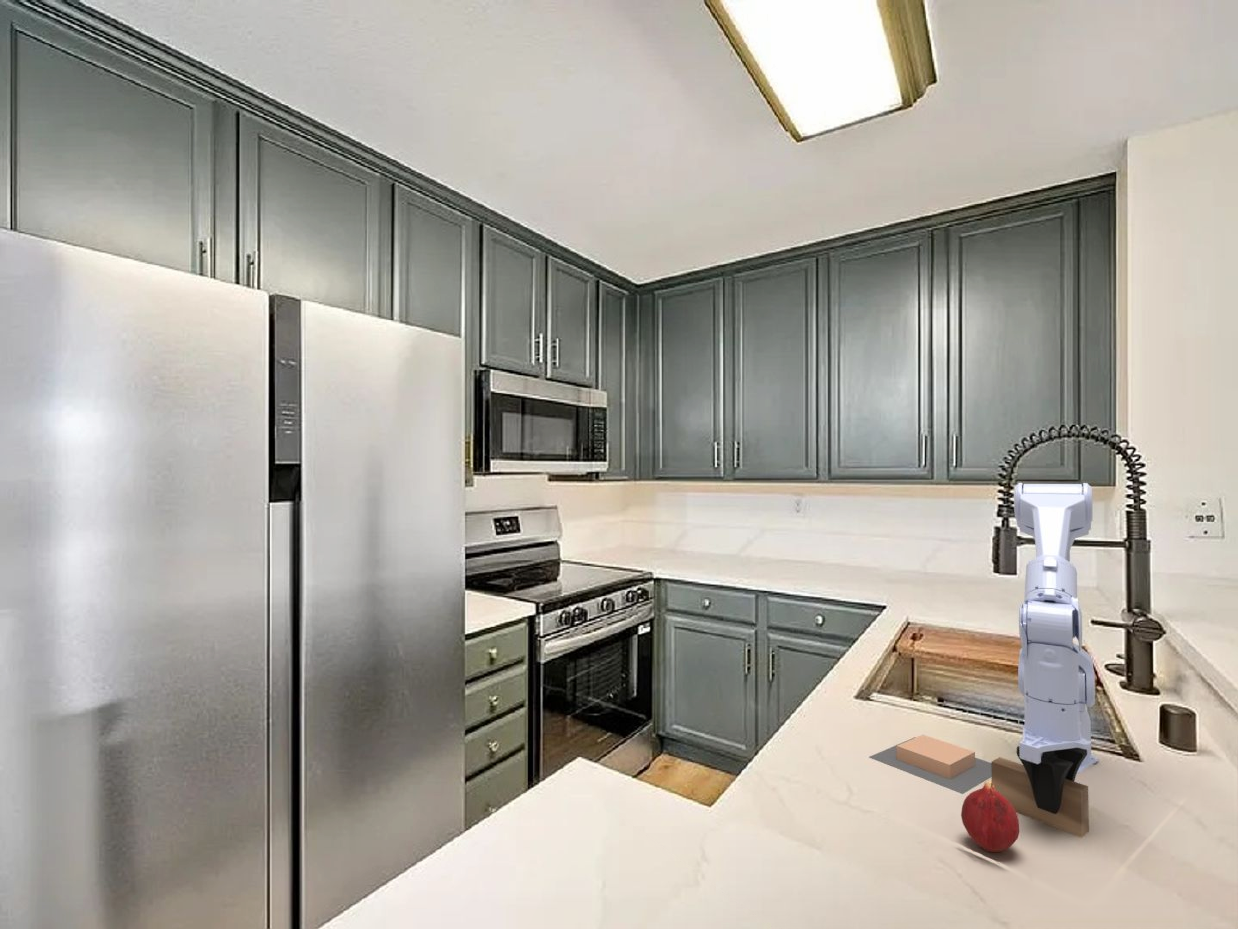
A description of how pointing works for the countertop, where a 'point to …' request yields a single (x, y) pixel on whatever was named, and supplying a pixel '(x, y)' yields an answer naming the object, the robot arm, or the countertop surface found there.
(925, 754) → the tile
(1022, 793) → the wooden plank piece
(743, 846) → the countertop surface
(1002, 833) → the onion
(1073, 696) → the robot arm
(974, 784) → the mat
